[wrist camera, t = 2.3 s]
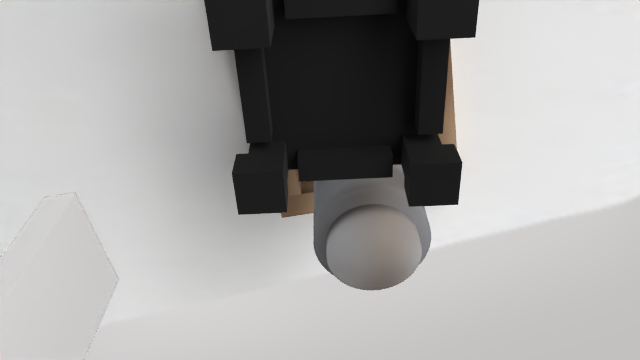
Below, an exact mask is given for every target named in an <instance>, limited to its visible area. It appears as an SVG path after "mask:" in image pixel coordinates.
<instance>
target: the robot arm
mask: <svg viewBox="0 0 640 360" xmlns="http://www.w3.org/2000/svg"><path fill="white" fill-rule="evenodd" d="M118 280H119V278H118V276H117V274H116V272H115V270H114V268H113V266H112V264H111V262H110V260H109V258H108V256H107V254H106V252H105V250H104V248H103V246H102V244H101V242H100V240H99V238H98V236H97V234H96V232H95V230H94V228H93V226H92V224H91V222H90V220H89V218H88V217H87V215H86V213H85V211H84V209H83V207H82V205H81V203H80V201H79V199H78V197H77V195H76V193H75V192H73V193H67V194H61V195H55V196H48V197H44V198H43V200H42V201H41V203H40V204H39V205H38V207H37V208H36V209H35V211H34V212H33V214H32V215H31V216H30V218H29V219H28V221H27V222H26V223H25V225H24V226H23V227H22V229H21V230H20V232H19V233H18V234H17V236H16V237H15V239H14V240H13V241H12V243H11V244H10V245H9V247H8V248H7V250H6V251H5V252H4V254H3V255H2V257H1V258H0V360H84V359H85V357H86V354H87V352H88V350H89V348H90V345H91V343H92V341H93V338H94V336H95V334H96V331H97V329H98V327H99V324H100V322H101V320H102V318H103V315H104V313H105V311H106V308H107V306H108V304H109V301H110V299H111V297H112V294H113V292H114V290H115V287H116V285H117V283H118Z"/></svg>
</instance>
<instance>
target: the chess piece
mask: <svg viewBox="0 0 640 360" xmlns="http://www.w3.org/2000/svg"><path fill="white" fill-rule="evenodd" d="M204 1H205V7H206V13H207V20H208V26H209V32H210V39H211V45H212V51H218V50H234V52H235V60H236V67H237V74H238V82H239V89H240V96H241V103H242V111H243V118H244V125H245V133H246V140H247V143H250V148H249V153H248V154H236V158H235V162H234V167H233V171H232V177H233V183H234V189H235V196H236V202H237V208H238V214H239V215H240V214H262V213H284V212H287V205H288V183H287V181H288V170H296V169H298V175H299V182H302V181H324V180H345V179H367V178H388V177H393V165H402V169H403V173H404V189H405V193H406V197H407V201H408V205H409V207H415V206H437V205H458V199H459V190H460V180H461V170H462V161H461V159H460V156H459V154H458V152H457V149H456V147H455V145H454V144H442V143H441V141H440V138H439V135H438V134H443V125H444V113H445V100H446V87H447V74H448V62H449V49H450V39H452V38H472V37H475V34H476V25H477V15H478V5H479V0H204Z"/></svg>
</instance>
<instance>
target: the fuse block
mask: <svg viewBox="0 0 640 360" xmlns="http://www.w3.org/2000/svg"><path fill="white" fill-rule="evenodd" d="M438 135H439V138H440V141H441V143H442V144H454V145H455V147H456V149H457V146H456V129H455V113H454V96H453V79H452V63H451V46H450V49H449V62H448V74H447V87H446V100H445V113H444V125H443V134H438ZM287 183H288V205H287V212H284V213H281V215H282V218H283V217H290V216H296V215H302V214H309V213H314V249H315V253H316V256H317V258H318V260H319V261H320V263H321V264H322V265H323V267H324V268H325V269H326V270H327V271H329V272H330V273H331V274H332V275H334V276H335V277H336V278H337V279H339V280H340V281H341V282H343V283H344V284H347V285H349V286H351V287H354V288H357V289H362V290H381V289H385V288H389V287H393V286H395V285H397V284H399V283H401V282H403V281H404V280H406V279H407V278H408V277H409V276H411V275H412V274H413V272H414V271H415V270H416V268H417V267H418V265H419V264H420V263H421V262H422V261H423V259H424V258H425V256H426V254H427V252H428V250H429V247H430V242H431V231H430V226H429V222H428V219H427V215H426V212H425V208H424V206H415V207H409V205H408V201H407V197H406V193H405V189H404V173H403V169H402V165H393V177H388V178H367V179H345V180H324V181H309V182H303V183H302V182H299V175H298V169H296V170H288V181H287Z"/></svg>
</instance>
